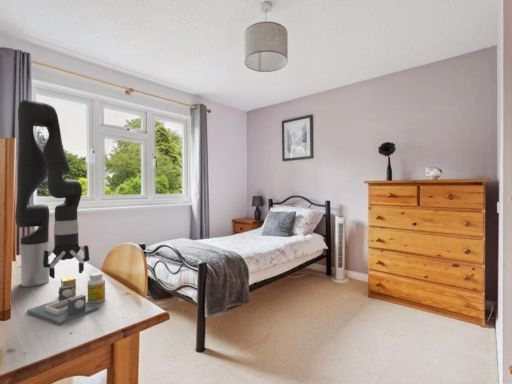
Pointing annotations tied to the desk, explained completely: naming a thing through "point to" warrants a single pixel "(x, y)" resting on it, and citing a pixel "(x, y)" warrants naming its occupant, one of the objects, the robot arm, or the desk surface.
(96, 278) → the supplement bottle
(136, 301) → the desk surface
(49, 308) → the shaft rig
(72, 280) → the tan rectangular block
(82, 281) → the desk surface
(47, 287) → the desk surface
